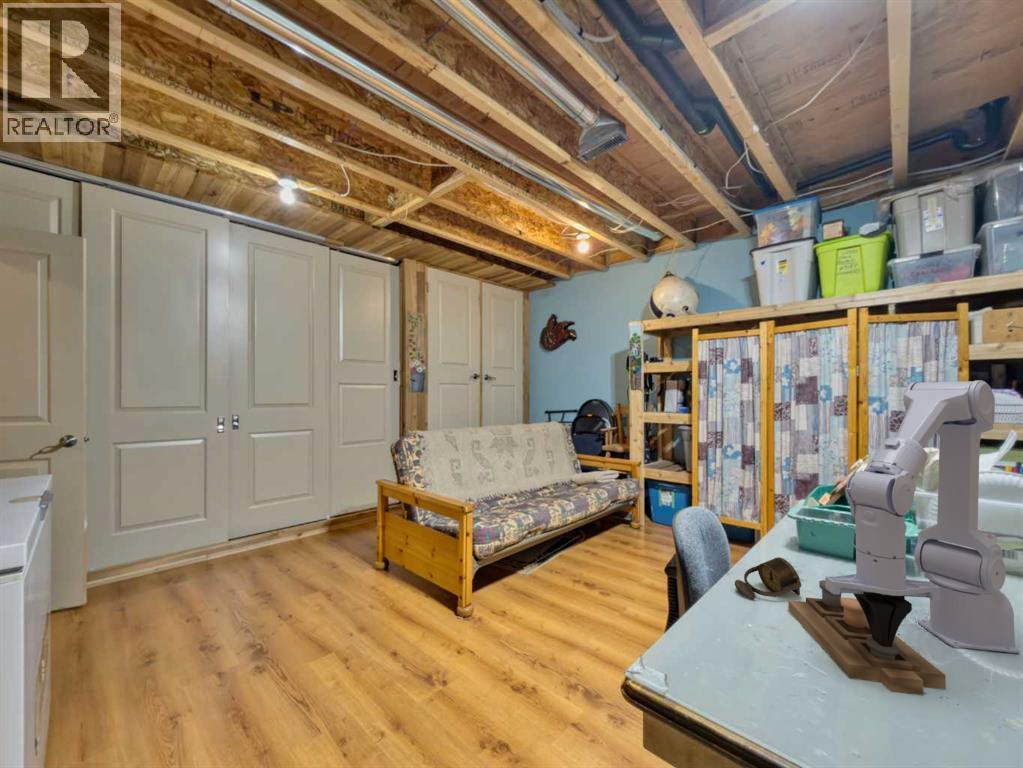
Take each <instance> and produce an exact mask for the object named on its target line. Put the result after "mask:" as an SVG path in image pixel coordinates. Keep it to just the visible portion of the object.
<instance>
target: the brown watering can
mask: <svg viewBox="0 0 1023 768" xmlns="http://www.w3.org/2000/svg"><path fill="white" fill-rule="evenodd" d="M755 572H757V573H758V575H759V578H760V580H761V582H762V584H763V586H765V588H766V589H767V590H768V591H764V590H761V589H758V588H756V587H754V586H753V585H752V584H751V583H750V582H748V579H747V578H748V576H749V575H750V574H752V573H755ZM734 587H735V589H736V590H737V592H738V593H739V594H740V595H741V596H742V595H743V597H744V596H745V597H744V598H746V597H747V598H746V599H749V598H750V599H751V600H754V599H756V598H757V595H760V596H762V597H763V596H764V597H769V598H770V597H771V598H772V597H773V598H775V597H779V596H783V595H785V594H787V593H789V592H792V593H793V594H795V595H797V596H800V595H801V589H800V588H801V587H802V581H801V579H800V576H799V574H798V572H797V571H796V569H795V568H794V566H793V565H792V564H791V563H790V562H789V561H788V560H787V559H785V558H782V557H779V556H778V557H774V558H773V559H769V560H768V561H765V562H762V563H759V564H758V565H755V566H753V567H750V568H749V569H747V570H746V571H745V573H744V574H743V580H741V579H736V580H735V581H734ZM756 594H757V595H756Z"/></svg>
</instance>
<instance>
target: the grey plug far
mask: <svg viewBox="0 0 1023 768" xmlns="http://www.w3.org/2000/svg"><path fill="white" fill-rule="evenodd" d="M818 582H819V584H818V585H819V589H821V599H822V602H823V603H824V604H826V605H829V606H833V607H841V598H842V593H840V594H833V593H831V592H830V591H828V590H827V589H826V588H825V579H824V580H823V579H822V580H819V581H818Z"/></svg>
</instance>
